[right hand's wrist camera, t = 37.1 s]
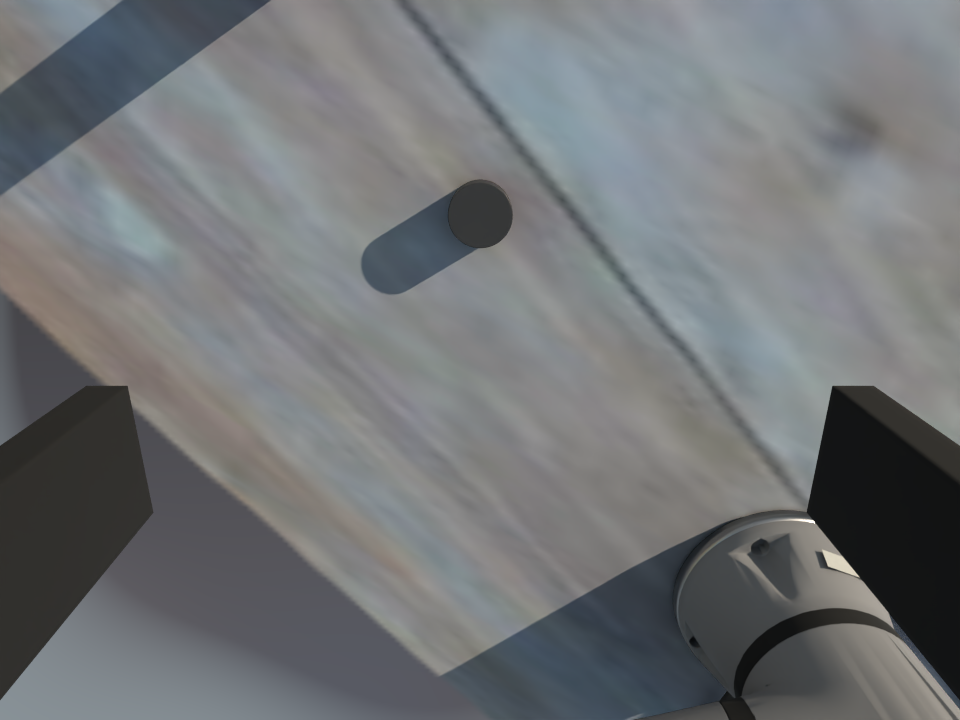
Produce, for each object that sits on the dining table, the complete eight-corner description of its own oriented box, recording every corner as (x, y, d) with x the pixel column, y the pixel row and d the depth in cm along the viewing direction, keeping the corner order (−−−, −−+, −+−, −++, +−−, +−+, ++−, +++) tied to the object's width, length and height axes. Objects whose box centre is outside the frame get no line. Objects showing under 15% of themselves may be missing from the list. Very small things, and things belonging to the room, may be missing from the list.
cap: (436, 207, 42) (434, 211, 40) (484, 166, 41) (485, 168, 40) (476, 254, 43) (476, 261, 42) (523, 215, 42) (525, 220, 41)
